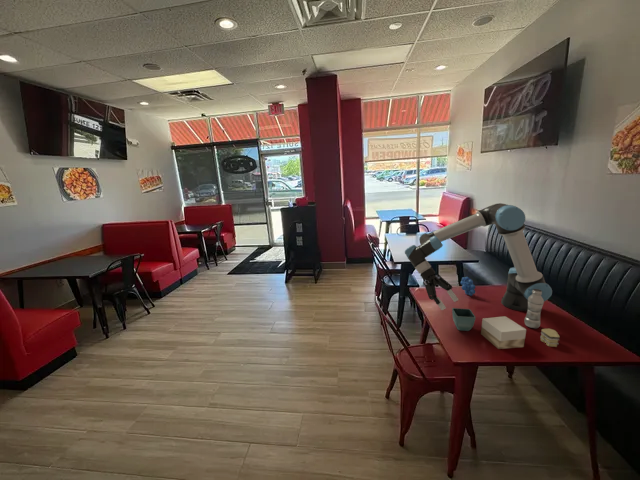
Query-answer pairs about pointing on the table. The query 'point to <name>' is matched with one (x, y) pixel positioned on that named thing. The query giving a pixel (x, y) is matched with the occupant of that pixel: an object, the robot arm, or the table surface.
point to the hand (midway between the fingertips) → (450, 305)
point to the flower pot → (463, 318)
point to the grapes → (468, 286)
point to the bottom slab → (502, 344)
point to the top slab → (503, 328)
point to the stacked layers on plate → (550, 337)
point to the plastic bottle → (534, 309)
